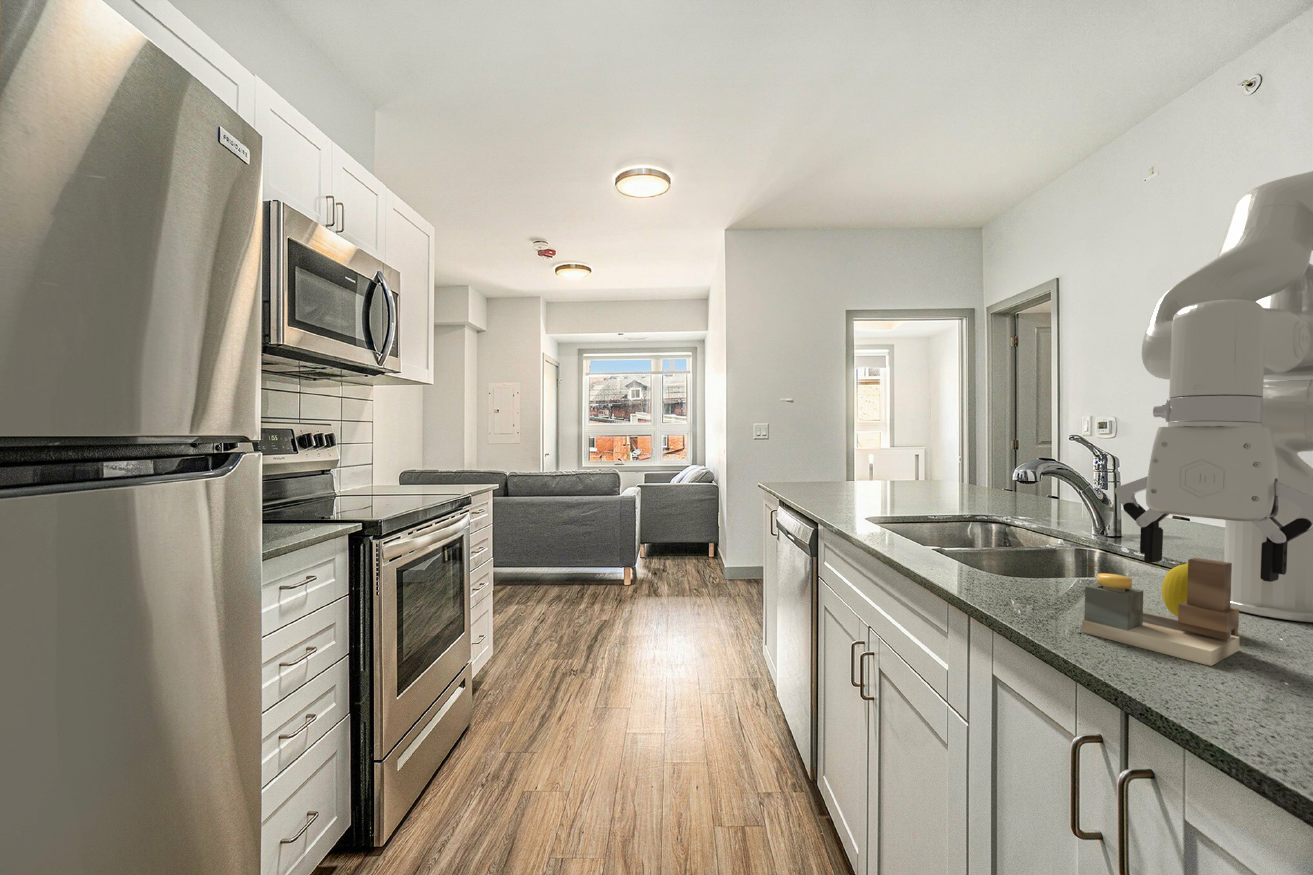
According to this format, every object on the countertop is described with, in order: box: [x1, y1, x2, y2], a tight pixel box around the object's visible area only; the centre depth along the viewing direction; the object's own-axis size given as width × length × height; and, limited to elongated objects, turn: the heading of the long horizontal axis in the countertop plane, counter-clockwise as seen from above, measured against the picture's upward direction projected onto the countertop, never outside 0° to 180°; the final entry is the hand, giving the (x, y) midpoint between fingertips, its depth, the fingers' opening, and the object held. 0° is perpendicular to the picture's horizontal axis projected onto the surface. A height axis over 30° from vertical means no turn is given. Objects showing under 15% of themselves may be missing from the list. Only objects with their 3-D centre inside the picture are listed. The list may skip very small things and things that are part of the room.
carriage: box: [1177, 557, 1240, 640], centre depth 65 cm, size 4×4×8 cm
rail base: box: [1081, 582, 1241, 667], centre depth 67 cm, size 9×12×6 cm
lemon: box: [1161, 562, 1188, 618], centre depth 73 cm, size 6×6×8 cm
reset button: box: [1096, 573, 1133, 593], centre depth 69 cm, size 3×3×5 cm
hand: (1207, 570), depth 65 cm, fingers open, 9 cm apart
